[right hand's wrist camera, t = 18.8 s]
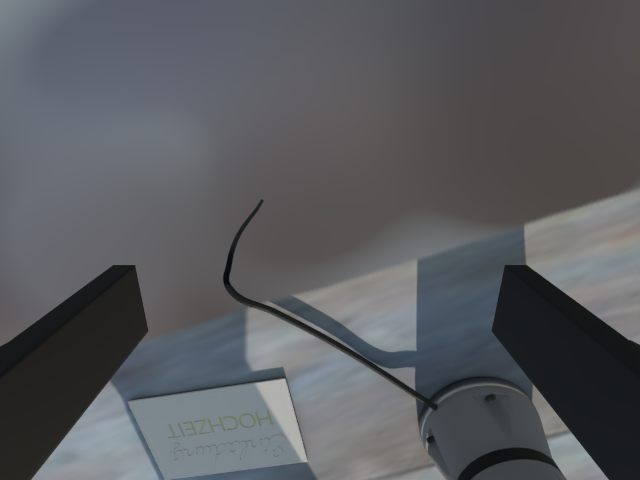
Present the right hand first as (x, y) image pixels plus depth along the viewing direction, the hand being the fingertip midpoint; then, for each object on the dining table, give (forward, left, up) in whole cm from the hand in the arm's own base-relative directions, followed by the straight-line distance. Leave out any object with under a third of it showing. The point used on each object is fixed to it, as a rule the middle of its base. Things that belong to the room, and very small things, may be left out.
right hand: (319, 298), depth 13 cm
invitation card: (+14, -35, -25) cm, 45 cm away
